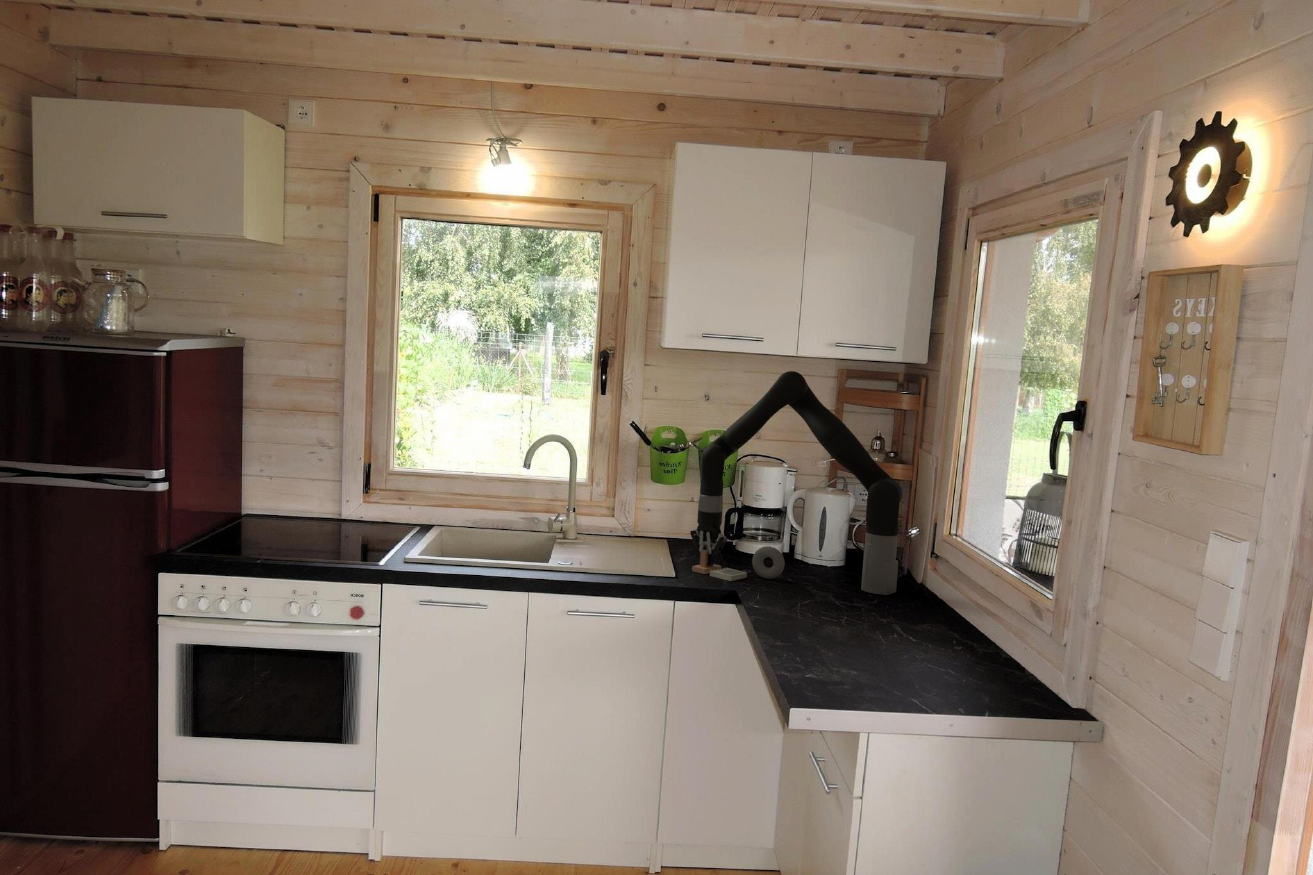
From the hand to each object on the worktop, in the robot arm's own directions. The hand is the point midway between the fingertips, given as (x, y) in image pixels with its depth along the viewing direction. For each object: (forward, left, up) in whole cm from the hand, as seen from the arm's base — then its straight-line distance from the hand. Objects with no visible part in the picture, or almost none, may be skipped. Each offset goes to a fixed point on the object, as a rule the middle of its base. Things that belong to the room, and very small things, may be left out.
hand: (706, 564), depth 286 cm
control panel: (-8, 0, -2) cm, 9 cm away
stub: (0, 0, -2) cm, 2 cm away
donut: (-17, -8, -2) cm, 19 cm away
